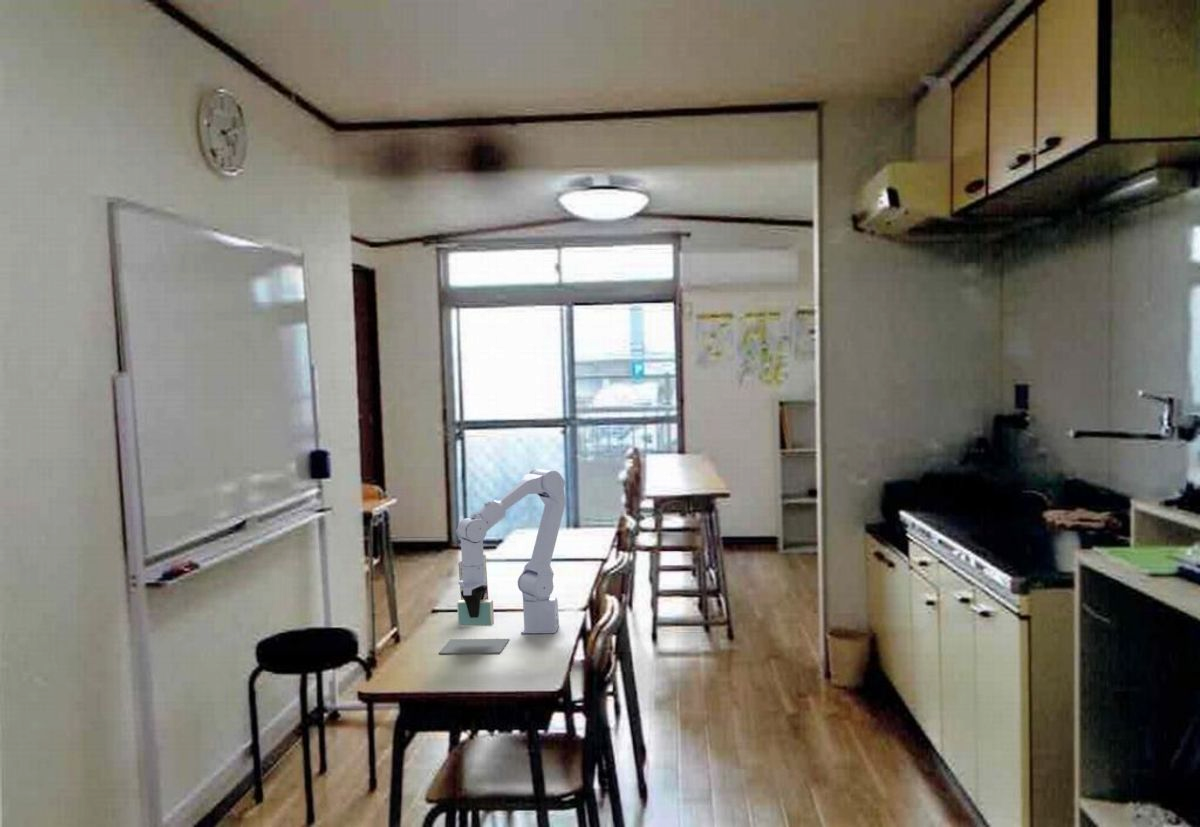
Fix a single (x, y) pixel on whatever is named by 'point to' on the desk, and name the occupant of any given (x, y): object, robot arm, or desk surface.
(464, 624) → the block
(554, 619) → the robot arm
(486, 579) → the candy bar box
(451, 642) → the mat
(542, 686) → the desk surface
